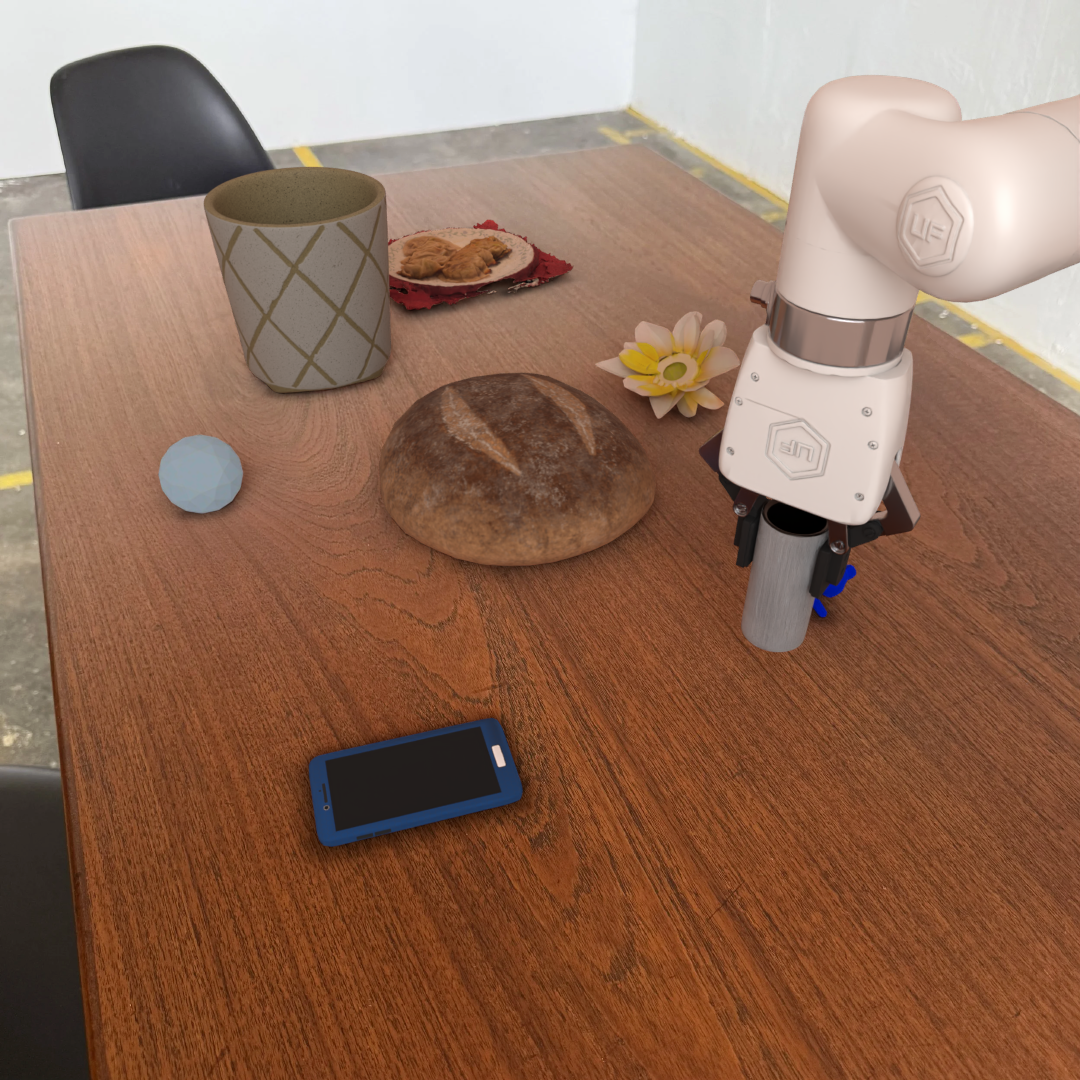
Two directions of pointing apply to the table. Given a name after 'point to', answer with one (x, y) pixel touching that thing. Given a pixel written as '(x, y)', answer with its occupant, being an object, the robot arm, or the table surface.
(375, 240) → the planter
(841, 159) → the robot arm
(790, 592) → the planter
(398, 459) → the bread
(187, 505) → the gemstone
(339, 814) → the cell phone
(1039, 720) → the table surface
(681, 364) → the decorative flower
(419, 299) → the plate with food
